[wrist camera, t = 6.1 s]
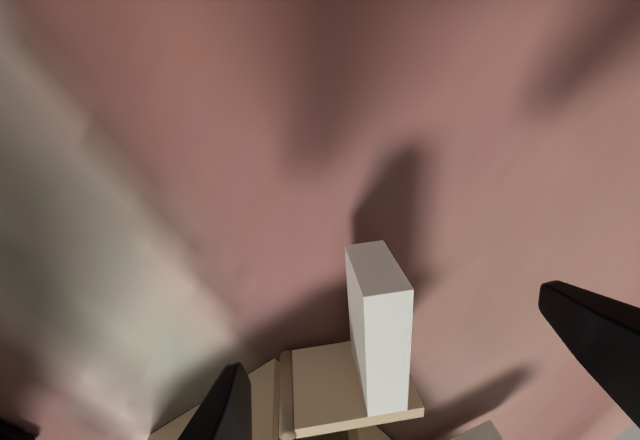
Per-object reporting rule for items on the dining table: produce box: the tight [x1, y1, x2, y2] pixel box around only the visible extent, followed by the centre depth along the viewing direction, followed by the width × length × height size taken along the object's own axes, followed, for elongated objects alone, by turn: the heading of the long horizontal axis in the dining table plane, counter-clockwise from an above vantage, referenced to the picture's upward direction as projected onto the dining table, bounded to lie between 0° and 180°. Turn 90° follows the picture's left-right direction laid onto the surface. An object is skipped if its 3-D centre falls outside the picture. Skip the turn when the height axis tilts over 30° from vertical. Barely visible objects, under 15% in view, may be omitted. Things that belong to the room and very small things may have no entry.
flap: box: [279, 240, 424, 440], centre depth 12 cm, size 6×7×4 cm
